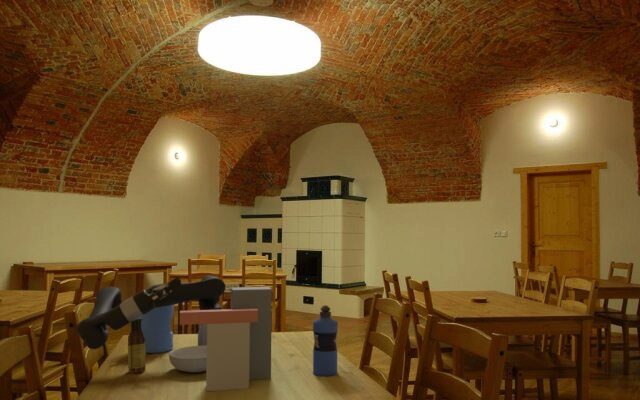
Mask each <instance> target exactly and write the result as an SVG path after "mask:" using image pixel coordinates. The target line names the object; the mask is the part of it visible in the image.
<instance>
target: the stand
mask: <svg viewBox="0 0 640 400" xmlns="http://www.w3.org/2000/svg"><path fill="white" fill-rule="evenodd" d="M272 291H273V288H271V287H270V286H249V287H248V286H246V287H245V286H243V287H242V286H240V287H239V286H238V287H230V309H252V308H257V309H258V322H240V323H214V324H207V365H206V371H205V372H206V376H205V377H206V379H205V380H206V381H205V383H206V385H205V388H206V392H213V391H214V392H215V391H230V390H244V389H250V381H253V380H254V381H255V380H270V379H272V319H273V318H272V316H273V315H272V308H273V307H272V299H273V297H272V295H273V294H272V293H273V292H272Z"/></svg>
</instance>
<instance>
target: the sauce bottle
mask: <svg viewBox="0 0 640 400" xmlns="http://www.w3.org/2000/svg"><path fill="white" fill-rule="evenodd" d="M141 322H142V319H141V318H138V319H136V320H134V321H132V322H130V333H129V335H128V337H127V361H128V362H127V366H128V367H127V368H128V372H129V373H131V372H134V373H133V374H139V373H138V372H140V373H143V372H145V371H146V366H147V362H146V359H147V358H146V353H145V338H144V335H143V332H142V328H141Z"/></svg>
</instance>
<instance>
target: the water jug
mask: <svg viewBox="0 0 640 400" xmlns="http://www.w3.org/2000/svg"><path fill="white" fill-rule="evenodd" d="M174 307H175V305H170V306H164V307H158V308H154V309H153V310H151V311H150V312H148V313H146V314H145V315H143V316H141V317H140V318H141V319H142V322H141V328H142V332H143V335H144V338H145V354H147V353H153V354H161V353H162V352H163V353H166V352H171V351H172V350H173V347H174V333H173V331H172V330H171V327H172V323H171V322H172V319H173V318H174Z"/></svg>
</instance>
